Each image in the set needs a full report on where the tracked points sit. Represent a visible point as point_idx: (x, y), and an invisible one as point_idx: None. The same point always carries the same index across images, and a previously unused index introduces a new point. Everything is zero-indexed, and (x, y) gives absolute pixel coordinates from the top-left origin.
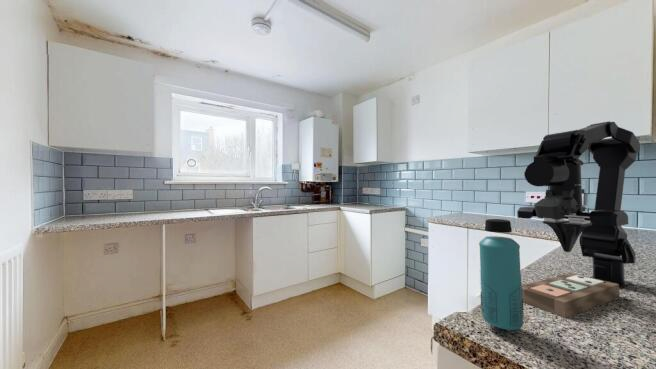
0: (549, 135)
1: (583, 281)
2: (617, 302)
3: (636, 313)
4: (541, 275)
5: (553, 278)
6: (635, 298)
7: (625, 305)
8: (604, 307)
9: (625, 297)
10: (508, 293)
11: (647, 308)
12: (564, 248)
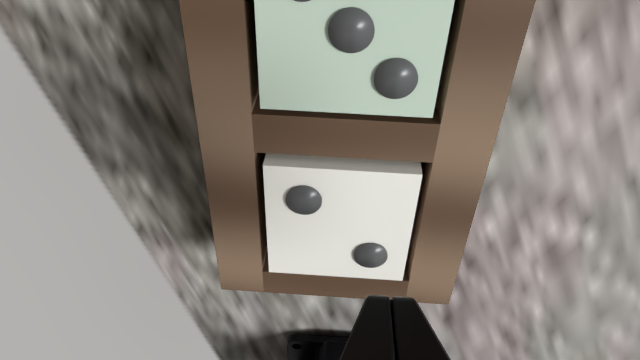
0: None
1: (324, 190)
2: None
3: (83, 79)
4: (599, 279)
5: (484, 116)
6: (204, 268)
7: (166, 151)
8: None
9: None
10: None
11: (115, 187)
12: (410, 326)
